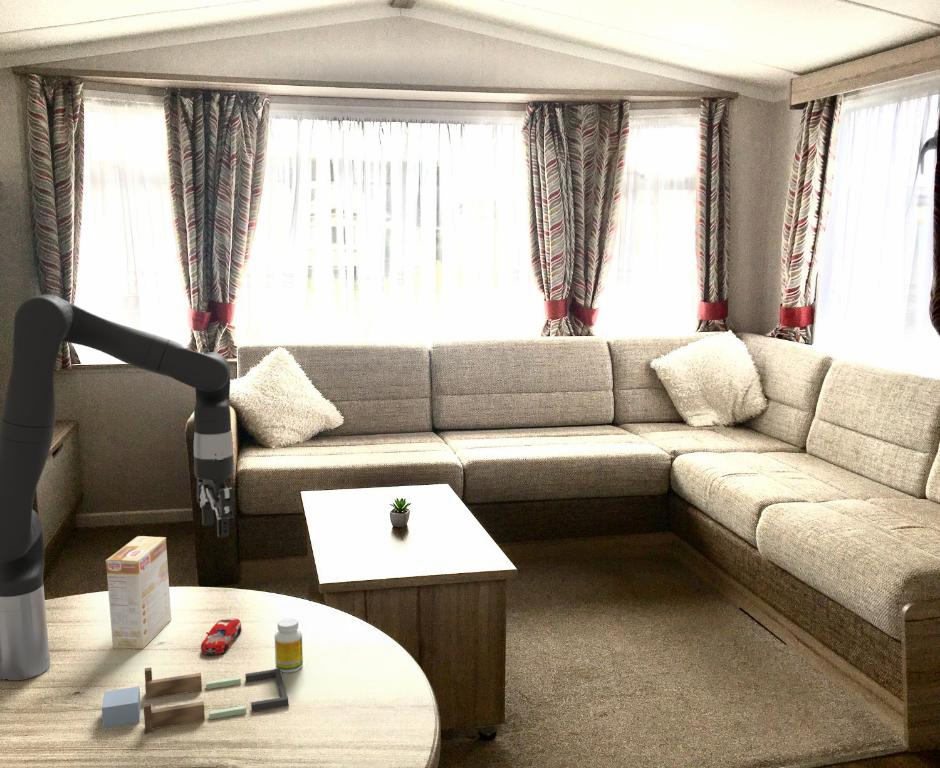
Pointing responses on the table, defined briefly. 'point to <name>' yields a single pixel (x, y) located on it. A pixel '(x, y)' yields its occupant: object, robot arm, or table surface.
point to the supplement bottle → (288, 646)
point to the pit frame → (271, 702)
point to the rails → (228, 710)
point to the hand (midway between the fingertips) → (215, 530)
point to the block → (121, 707)
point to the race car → (221, 636)
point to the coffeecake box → (138, 592)
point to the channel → (173, 713)
